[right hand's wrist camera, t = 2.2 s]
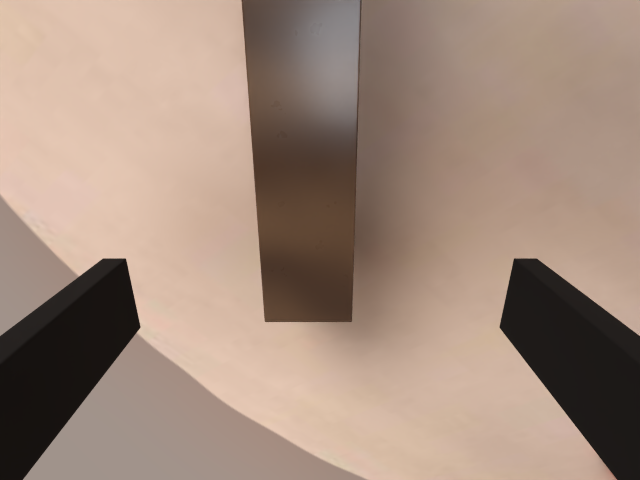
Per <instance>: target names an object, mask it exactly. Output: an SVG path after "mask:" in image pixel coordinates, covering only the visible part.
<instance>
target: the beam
mask: <svg viewBox="0 0 640 480" xmlns="http://www.w3.org/2000/svg"><path fill="white" fill-rule="evenodd" d="M242 11H243V25H244V39H245V53H246V67H247V81H248V94H249V108H250V122H251V136H252V150H253V164H254V178H255V192H256V206H257V220H258V234H259V248H260V261H261V275H262V289H263V303H264V317H265V322H352V300H353V266H354V232H355V199H356V165H357V131H358V97H359V63H360V30H361V0H242Z"/></svg>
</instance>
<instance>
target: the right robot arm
mask: <svg viewBox="0 0 640 480" xmlns="http://www.w3.org/2000/svg"><path fill="white" fill-rule="evenodd" d="M139 329H140V323H139V318H138V313H137V309H136V304H135V299H134V295H133V290H132V285H131V280H130V276H129V271H128V266H127V262H126V259H102V260H101V261H99V262H98V263H97V264H95V265H94V266H93V267H91V268H90V269H89V270H87V271H86V272H85V273H83V274H82V275H81V276H79V277H78V278H77V279H76V280H74V281H73V282H72V283H70V284H69V285H68V286H66V287H65V288H64V289H62V290H61V291H60V292H58V293H57V294H56V295H54V296H53V297H52V298H50V299H49V300H48V301H46V302H45V303H44V304H42V305H41V306H40V307H38V308H37V309H36V310H34V311H33V312H32V313H30V314H29V315H28V316H26V317H25V318H24V319H22V320H21V321H20V322H18V323H17V324H16V325H15V326H13V327H12V328H10V329H9V330H8V331H6V332H5V333H4V334H3V335H1V336H0V480H23V479H24V477H25V476H26V475H27V473H28V472H29V471H30V470H31V468H32V467H33V466H34V464H35V463H36V462H37V461H38V459H39V458H40V457H41V455H42V454H43V453H44V451H45V450H46V449H47V448H48V446H49V445H50V444H51V442H52V441H53V440H54V439H55V437H56V436H57V435H58V433H59V432H60V431H61V429H62V428H63V427H64V426H65V424H66V423H67V422H68V420H69V419H70V418H71V417H72V415H73V414H74V413H75V411H76V410H77V409H78V408H79V406H80V405H81V404H82V402H83V401H84V400H85V398H86V397H87V396H88V395H89V393H90V392H91V391H92V389H93V388H94V387H95V386H96V384H97V383H98V382H99V380H100V379H101V378H102V376H103V375H104V374H105V373H106V371H107V370H108V369H109V367H110V366H111V365H112V364H113V362H114V361H115V360H116V358H117V357H118V356H119V355H120V353H121V352H122V351H123V349H124V348H125V347H126V345H127V344H128V343H129V342H130V340H131V339H132V338H133V336H134V335H135V334H136V333H137V331H138V330H139ZM500 329H501V330H502V331H503V333H504V334H505V335H506V336H507V338H508V339H509V340H510V342H511V343H512V344H513V345H514V347H515V348H516V349H517V351H518V352H519V353H520V355H521V356H522V357H523V358H524V360H525V361H526V362H527V364H528V365H529V366H530V367H531V369H532V370H533V371H534V373H535V374H536V375H537V376H538V378H539V379H540V380H541V382H542V383H543V384H544V386H545V387H546V388H547V389H548V391H549V392H550V393H551V395H552V396H553V397H554V398H555V400H556V401H557V402H558V404H559V405H560V406H561V408H562V409H563V410H564V411H565V413H566V414H567V415H568V417H569V418H570V419H571V420H572V422H573V423H574V424H575V426H576V427H577V428H578V429H579V431H580V432H581V433H582V435H583V436H584V437H585V439H586V440H587V441H588V442H589V444H590V445H591V446H592V448H593V449H594V450H595V451H596V453H597V454H598V455H599V457H600V458H601V459H602V461H603V462H604V463H605V464H606V466H607V467H608V468H609V470H610V471H611V472H612V473H613V475H614V476H615V477H616V479H617V480H640V336H639V335H638V334H636V333H635V332H634V331H632V330H631V329H630V328H628V327H627V326H626V325H624V324H623V323H622V322H620V321H619V320H618V319H616V318H615V317H614V316H612V315H611V314H610V313H608V312H607V311H606V310H604V309H603V308H602V307H600V306H599V305H598V304H596V303H595V302H594V301H592V300H591V299H590V298H588V297H587V296H586V295H584V294H583V293H582V292H580V291H579V290H578V289H576V288H575V287H574V286H572V285H571V284H570V283H568V282H567V281H566V280H564V279H563V278H562V277H561V276H559V275H558V274H557V273H555V272H554V271H553V270H551V269H550V268H549V267H547V266H546V265H545V264H543V263H542V262H541V261H539V260H538V259H514V262H513V266H512V271H511V276H510V280H509V285H508V290H507V295H506V299H505V304H504V309H503V313H502V318H501V323H500Z"/></svg>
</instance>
